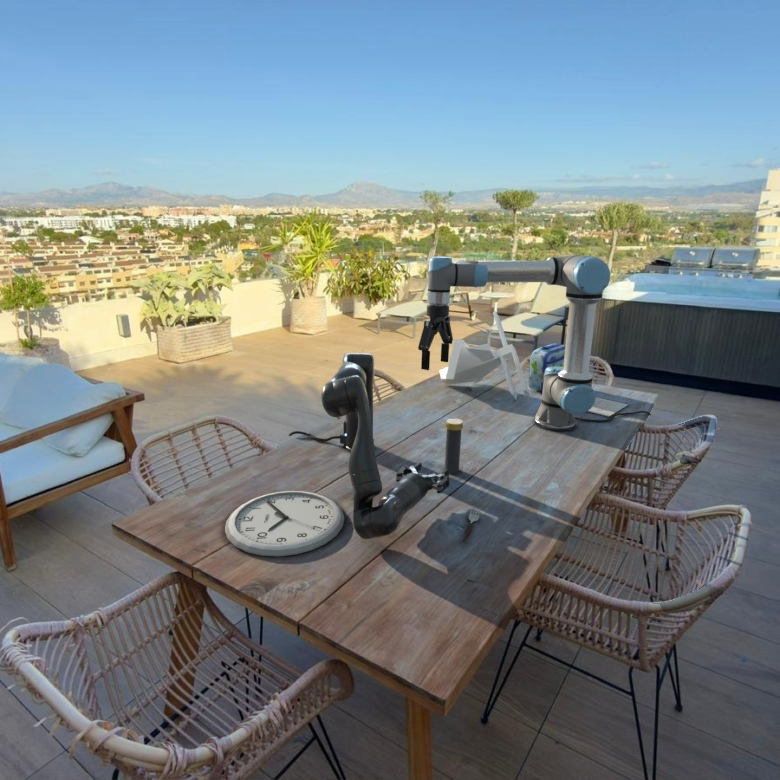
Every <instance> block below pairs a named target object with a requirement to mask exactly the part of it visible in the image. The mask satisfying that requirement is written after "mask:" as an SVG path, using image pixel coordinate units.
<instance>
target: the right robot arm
mask: <svg viewBox="0 0 780 780" xmlns="http://www.w3.org/2000/svg"><path fill="white" fill-rule="evenodd" d="M610 281H611V270H610V267H609V265H608V264H607V263H606V261H604V260H603V259H601V258H598V257H597V256H591V255H581V254H574V255H565V256H555V257H554V256H553V257H552V256H551V257H548V258H547V259H546V260H541V259H540V260H457V261H455V262H453V258H452V257H450V256H432V257H430V258H429V261H428V269H427V293H426V296H427V298H426V302H427V305H426V316H428V317H429V320H424V321H423V329H422V333H421V336H420V339H419V341H418V342H419V343H418V346H417V350H419V351H421V363H420V364H421V365H420V366H421V367H420V369H421V370H424V371H430V364H431V362H430V361H431V350H430V348H431V346H432V344H433V341H434V338H435V336H436V335H437V334H439V336H440V339H441V341H442V343H440V344H441V347H440V362H442V363H449V359H450V357H449V355H450V345H453V342H454V337H453V332H452V325H451V317H450V305H449V304H450V301H451V287H455V288H456V287H464V288H465V287H468V288H484V287H485V286H487V283H545V284H546V285H548V286H560V287H564V288H565V298H566V300H567V301H568V302H569V306H568V317H567V325H566V337H565V345H566V346H565V356H564V365H563V367H548V368H546V369H545V374H544V382H543V391H541V392H542V394H541V402H540V405H539V407H538V410H537V411H536V413H535V416H534V424H535V425H536V426H537V427H539V428H542V429H544V430H549V431H556V432H567V431H572V430H574V429H575V428H576V420H579V421H584V422H596V423H604V422H610V421H611V420H613V418H615V417H618V416H625V415H635V414H648V416H652V414H651V413H650V412H649V411H646V410H640V411H639V410H638V411H632V412H621V413H614V414H613V415H611V416H610V417H609V418H607V419H589V418H582V417H576V416H575V415H582V414H586V413H588V410H589V409H590V408H591V407H592V406H593V405H594V403H595V399H596V392H595V390H594V388H593V387H592V386H593V377H594V376H593V374H592V373H591V372H590V365H591V363H590V362H591V353H592V345H593V337H594V336H593V335H594V330H595V329H594V328H595V318H596V310H597V303H598V302H600V301H601V300H602V299H603V293H604V291H605V289H607V288H608V286H609V284H610Z"/></svg>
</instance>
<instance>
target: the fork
mask: <svg viewBox="0 0 780 780" xmlns="http://www.w3.org/2000/svg"><path fill="white" fill-rule="evenodd" d="M473 506H474V505H471V509H470V512H469V514H468V520H469V521H470V522H469V524H468V525H467V527H466V529H465V532H464V536H463V540H462V543H465V542H466V540H467V538H468V536H469V535H470V533H471V530H472V525H473V522H477V521H478V520H479V519H480V513H481V508H479V507H478V506H477V507H476V506H474V507H473ZM478 508H479V509H478Z"/></svg>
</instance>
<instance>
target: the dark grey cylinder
mask: <svg viewBox="0 0 780 780" xmlns="http://www.w3.org/2000/svg"><path fill="white" fill-rule="evenodd" d="M445 435H446V437H445V455H444V470H445V469H448V471H449V475H456V474H458V473H459V472H460V459H461V443H462V429H461V430H449V429H447V428H446V434H445Z"/></svg>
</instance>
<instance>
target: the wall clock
mask: <svg viewBox="0 0 780 780" xmlns="http://www.w3.org/2000/svg"><path fill="white" fill-rule="evenodd" d="M344 515H345V514H344V511H343V509H342V508H341V507H340V505H338V503H336V502H335V501H334V500H333V499H332V500H331V499H330V498H329V497H327V496H324V495H322V494H318V493H316V492H311V491H310V492H309V491H305V490H304V491H303V490H284V491H276V492H272V493H267V494H264V495H260V496H257V497H255V498H252V499H250V500H248V501H246V502H245V503H243V504H241V505H240V506H238V508H236V509H235V510H233V511H232V512H231V513H230V515H229V517H228V518H227V520H226V521H225V527H224V532H225V536H226V538H227V540H228V541H229V542H230V544H231V545H233V546H234V547H235V548H237V549H240V550H241V551H244V552H245V553H248V554H252V555H256V556H262V557H287V556H294V555H296V556H297V555H299V554H304V553H307V552H311V551H313V550H316V549H318V548H320V547H322V546H324V545H327V544H328V543H329V542H331V541H332V540H333V539H335V538H336V537H337V536H338V534H339V533H340V532H341V530H342V529H343V527H344V522H345V516H344Z"/></svg>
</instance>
